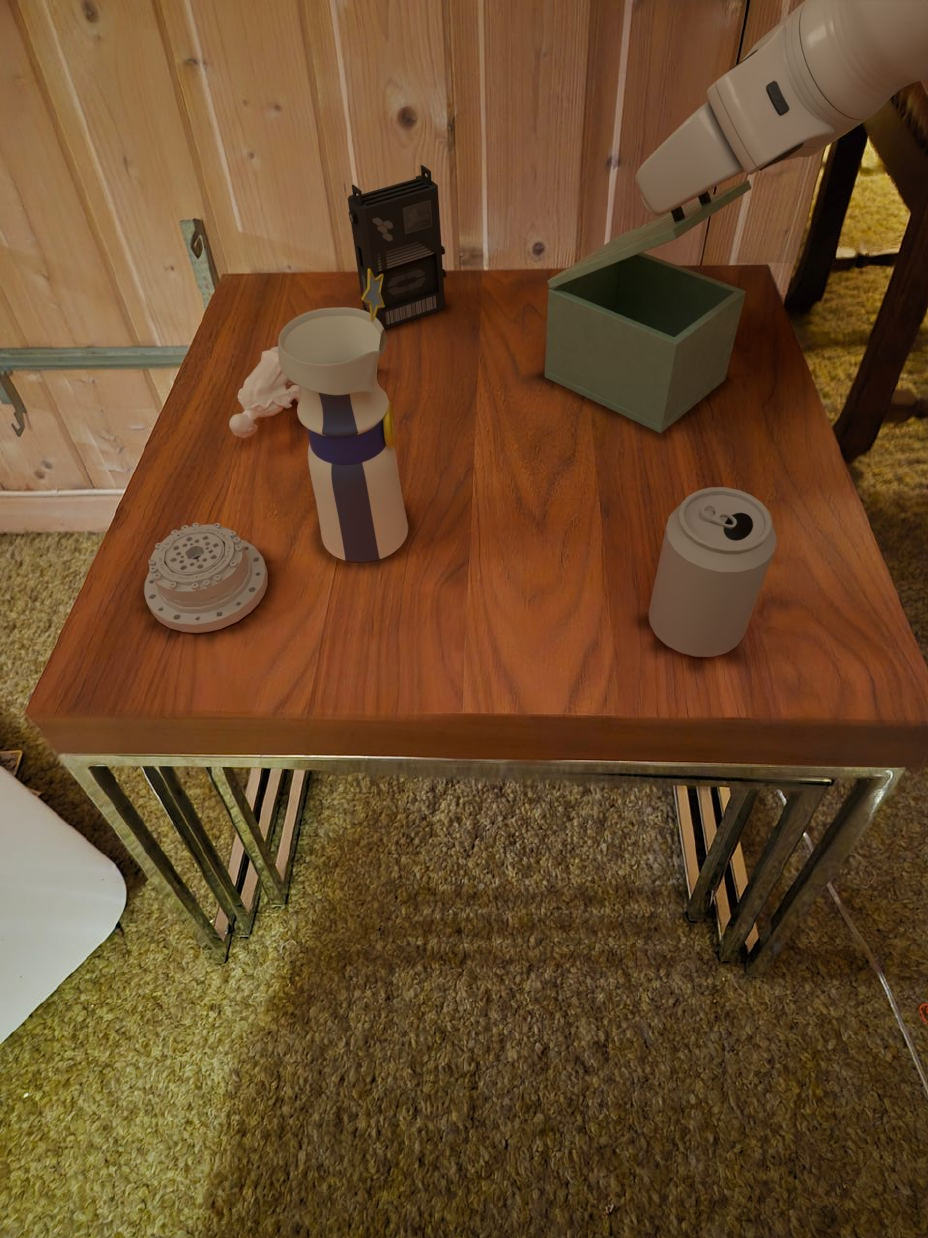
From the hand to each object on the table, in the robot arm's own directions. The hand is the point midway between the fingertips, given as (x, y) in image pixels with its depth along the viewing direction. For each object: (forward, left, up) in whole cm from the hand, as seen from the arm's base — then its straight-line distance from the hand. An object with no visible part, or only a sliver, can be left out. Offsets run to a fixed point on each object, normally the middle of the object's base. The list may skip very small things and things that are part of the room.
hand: (670, 188), depth 72 cm
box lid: (+1, -1, -5) cm, 5 cm away
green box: (+1, -1, -19) cm, 19 cm away
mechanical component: (+37, +31, -20) cm, 52 cm away
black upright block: (+27, -13, -20) cm, 35 cm away
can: (-3, +32, -20) cm, 38 cm away
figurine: (+35, +6, -20) cm, 40 cm away
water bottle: (+25, +23, -20) cm, 39 cm away
